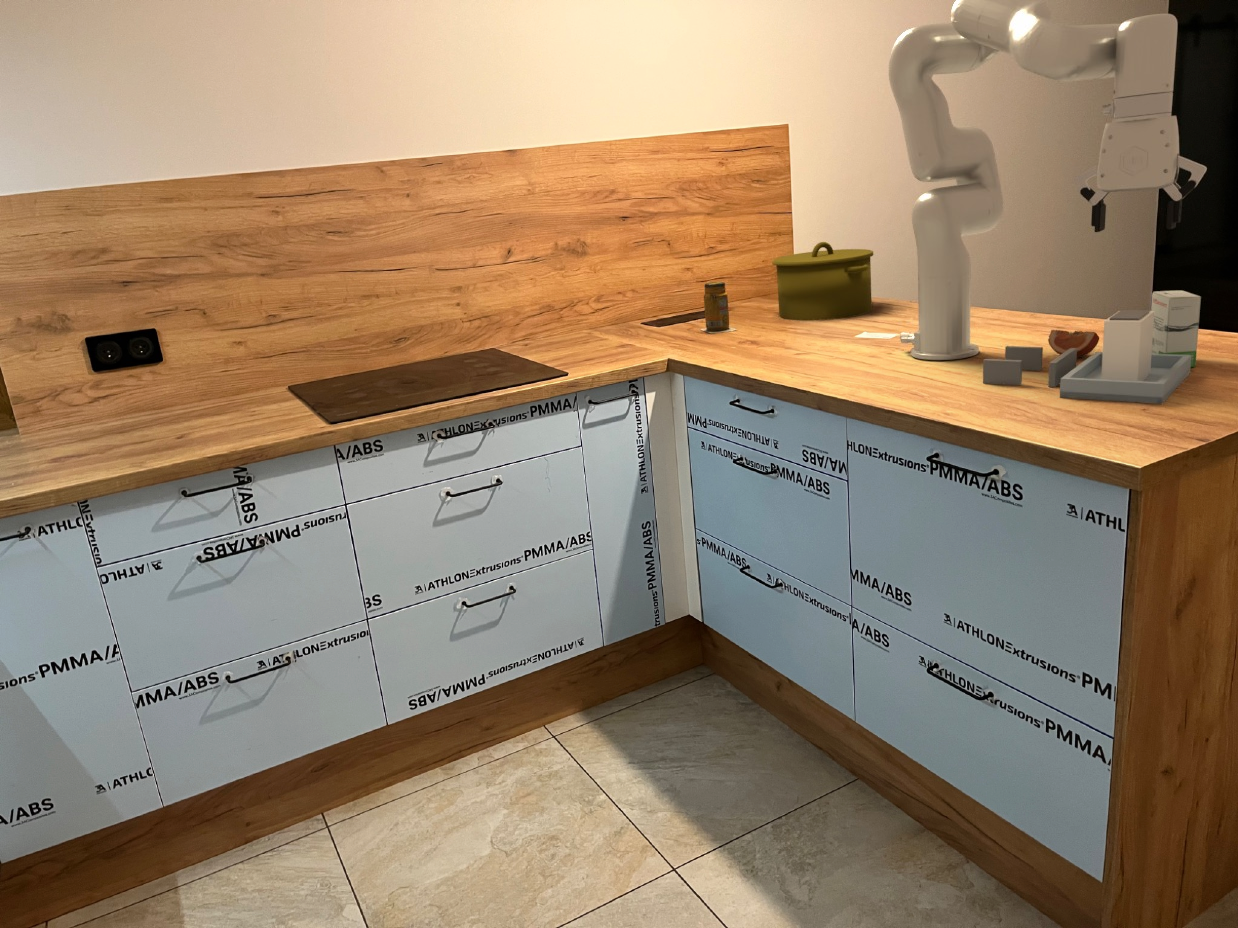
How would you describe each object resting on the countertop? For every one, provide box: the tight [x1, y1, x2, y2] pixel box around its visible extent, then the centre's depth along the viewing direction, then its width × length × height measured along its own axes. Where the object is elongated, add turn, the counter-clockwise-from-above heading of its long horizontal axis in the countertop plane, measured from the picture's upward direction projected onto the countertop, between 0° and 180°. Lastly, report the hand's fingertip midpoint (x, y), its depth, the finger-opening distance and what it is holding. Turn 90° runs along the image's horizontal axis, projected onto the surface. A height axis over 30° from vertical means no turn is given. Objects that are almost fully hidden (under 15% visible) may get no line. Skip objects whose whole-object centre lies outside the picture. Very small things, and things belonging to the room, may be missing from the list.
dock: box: [982, 345, 1078, 388], centre depth 156 cm, size 12×12×4 cm
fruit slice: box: [1047, 329, 1100, 359], centre depth 167 cm, size 8×7×5 cm
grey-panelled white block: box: [1101, 309, 1154, 381], centre depth 144 cm, size 5×9×10 cm, turn 140°
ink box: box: [1150, 290, 1202, 368], centre depth 154 cm, size 9×5×12 cm, turn 169°
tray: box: [1059, 351, 1192, 405], centre depth 145 cm, size 14×20×3 cm
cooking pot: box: [771, 241, 874, 322], centre depth 242 cm, size 30×26×18 cm
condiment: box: [700, 281, 738, 334], centre depth 234 cm, size 7×8×12 cm
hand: (1134, 229), depth 139 cm, fingers open, 9 cm apart
